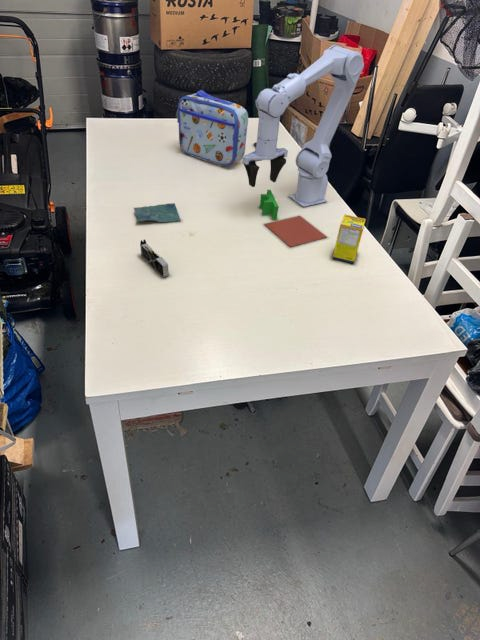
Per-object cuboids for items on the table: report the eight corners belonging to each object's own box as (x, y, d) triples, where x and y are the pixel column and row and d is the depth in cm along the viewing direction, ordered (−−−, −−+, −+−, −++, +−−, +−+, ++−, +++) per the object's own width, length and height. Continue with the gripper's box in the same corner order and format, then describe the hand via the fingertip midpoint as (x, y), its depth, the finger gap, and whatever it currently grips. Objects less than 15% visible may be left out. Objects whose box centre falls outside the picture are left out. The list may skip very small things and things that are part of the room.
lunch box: (171, 152, 174) (170, 89, 159) (188, 144, 181) (188, 83, 166) (232, 172, 164) (236, 107, 149) (247, 163, 171) (253, 100, 156)
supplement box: (356, 253, 129) (366, 218, 122) (353, 264, 125) (363, 228, 117) (335, 248, 130) (344, 213, 123) (332, 259, 126) (340, 223, 119)
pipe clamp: (257, 203, 148) (259, 189, 145) (269, 202, 148) (270, 189, 145) (264, 220, 139) (266, 206, 137) (276, 219, 140) (278, 206, 137)
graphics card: (141, 256, 121) (135, 242, 117) (149, 252, 122) (143, 237, 118) (163, 279, 114) (158, 264, 110) (172, 273, 115) (167, 259, 111)
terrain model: (175, 208, 141) (175, 202, 139) (180, 221, 135) (180, 216, 134) (132, 212, 137) (132, 206, 136) (136, 226, 132) (136, 220, 131)
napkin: (299, 216, 143) (299, 215, 143) (326, 237, 134) (326, 236, 134) (264, 224, 137) (264, 223, 137) (290, 247, 129) (290, 246, 129)
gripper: (279, 129, 134) (274, 173, 143) (237, 135, 127) (234, 182, 136) (294, 137, 129) (287, 183, 138) (251, 144, 123) (247, 192, 132)
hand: (262, 183), depth 137 cm, fingers open, 7 cm apart
